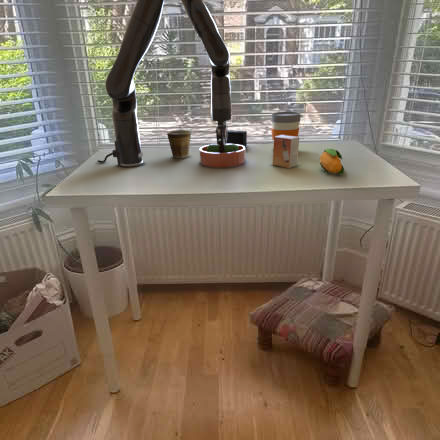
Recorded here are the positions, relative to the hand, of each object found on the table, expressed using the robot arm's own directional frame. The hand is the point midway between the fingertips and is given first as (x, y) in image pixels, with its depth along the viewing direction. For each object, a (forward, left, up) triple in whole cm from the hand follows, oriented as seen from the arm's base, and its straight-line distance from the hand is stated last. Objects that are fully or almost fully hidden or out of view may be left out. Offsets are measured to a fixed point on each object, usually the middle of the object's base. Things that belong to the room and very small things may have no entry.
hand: (222, 153), depth 159 cm
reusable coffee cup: (+24, +23, -4) cm, 33 cm away
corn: (+42, -14, -4) cm, 44 cm away
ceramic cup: (-21, +11, -4) cm, 24 cm away
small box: (+25, -4, -4) cm, 26 cm away
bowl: (0, 0, -4) cm, 4 cm away
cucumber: (0, 0, 0) cm, 0 cm away
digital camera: (+1, +31, -4) cm, 31 cm away
